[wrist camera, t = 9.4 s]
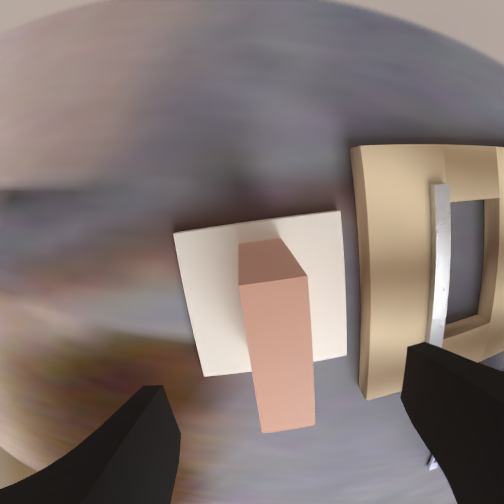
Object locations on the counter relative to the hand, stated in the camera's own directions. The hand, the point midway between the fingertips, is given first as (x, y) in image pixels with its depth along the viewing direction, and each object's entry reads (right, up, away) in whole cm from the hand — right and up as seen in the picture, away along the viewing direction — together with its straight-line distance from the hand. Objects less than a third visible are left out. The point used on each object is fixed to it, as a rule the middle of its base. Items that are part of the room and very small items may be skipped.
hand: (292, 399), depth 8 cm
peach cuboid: (0, +2, +7) cm, 8 cm away
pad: (0, +2, +8) cm, 8 cm away
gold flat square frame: (+12, +3, +8) cm, 14 cm away
